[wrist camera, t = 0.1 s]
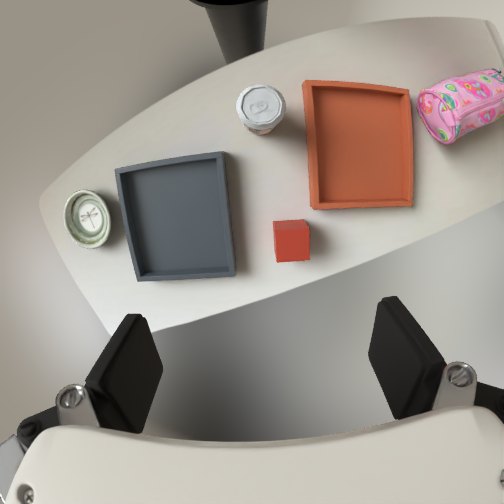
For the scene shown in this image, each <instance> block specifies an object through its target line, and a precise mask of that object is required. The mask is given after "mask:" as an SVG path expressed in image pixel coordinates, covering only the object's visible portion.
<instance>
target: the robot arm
mask: <svg viewBox="0 0 504 504" xmlns="http://www.w3.org/2000/svg"><path fill="white" fill-rule="evenodd" d="M368 356H369V360H370V362H371V365H372V367H373V369H374V372H375V374H376V376H377V378H378V381H379V383H380V385H381V387H382V390H383V392H384V395H385V397H386V399H387V402H388V404H389V407H390V409H391V412H392V414H393V417H394V418H395V419H398V420H397V421H393V422H389V423H386V424H381V425H377V426H373V427H368V428H364V429H359V430H355V431H349V432H344V433H338V434H332V435H326V436H318V437H310V438H302V439H292V440H279V441H263V442H212V441H193V440H181V439H171V438H162V437H154V436H148V435H141V434H139V433H142V431H143V428H144V425H145V422H146V419H147V416H148V413H149V410H150V407H151V404H152V401H153V398H154V396H155V393H156V390H157V387H158V384H159V381H160V378H161V376H162V373H163V365H162V362H161V359H160V357H159V354H158V352H157V349H156V346H155V343H154V340H153V338H152V335H151V332H150V329H149V326H148V323H147V320H146V318H144V317H142V315H141V314H127V315H126V316H125V318H124V319H123V321H122V322H121V324H120V325H119V327H118V328H117V330H116V331H115V333H114V334H113V336H112V337H111V339H110V341H109V342H108V344H107V345H106V347H105V349H104V350H103V352H102V353H101V355H100V357H99V358H98V360H97V361H96V363H95V365H94V366H93V368H92V370H91V371H90V373H89V375H88V376H87V378H86V380H85V381H86V384H85V386H84V387H83V386H82V385H79V384H72V385H68V386H66V387H64V388H63V389H62V390H60V392H59V393H58V394H57V397H56V406H55V407H52V408H50V409H47V410H45V411H43V412H40V413H38V414H35V415H33V416H31V417H28V418H26V419H24V420H23V421H22V422H21V423H20V425H19V427H18V430H17V436H15V435H14V434H13V435H12V436H11V437H9V438H8V439H7V440H5V441H4V442H3V443H2V444H0V498H1V500H2V502H3V504H504V389H500V388H497V387H493V386H490V385H487V384H483V383H480V382H477V375H476V372H475V370H474V369H473V368H472V367H471V366H470V365H468V364H466V363H464V362H452V363H449V364H448V365H447V364H446V362H445V361H444V358H443V357H442V355H441V354H440V352H439V351H438V350H437V348H436V347H435V345H434V344H433V343H432V341H431V340H430V339H429V337H428V336H427V335H426V333H425V332H424V330H423V329H422V328H421V326H420V325H419V324H418V323H417V321H416V320H415V319H414V317H413V316H412V315H411V313H410V312H409V311H408V310H407V308H406V307H405V306H404V305H403V304H402V302H401V301H400V300H399V298H398V297H397V296H391V297H385V298H383V299H382V301H381V302H379V303H378V306H377V311H376V317H375V322H374V328H373V333H372V338H371V343H370V347H369V352H368Z"/></svg>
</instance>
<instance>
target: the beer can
mask: <svg viewBox="0 0 504 504" xmlns="http://www.w3.org/2000/svg"><path fill="white" fill-rule="evenodd" d="M236 108H237V113H238V116H239V118H240V119H241V121H242V123H243V125H244V127H245V128H246V129H247V130H248V131H249V132H251V133H253V134H256V135H263V134H267V133H269V132H271V131H272V130H273V129H274V127H275V126H276V125H277V124H278V123H280V122H281V120H282V119H283V117H284V115H285V111H286V103H285V100H284V98H283V96H282V94H281V93H280V92H279V91H278V90H277V89H275V88H274V87H271V86H269V85H264V84H257V85H253V86H250V87H248V88H247V89H245V90H244V91H243V92H242V93H241V94H240V96H239V98H238V100H237V104H236Z"/></svg>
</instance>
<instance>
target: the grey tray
mask: <svg viewBox="0 0 504 504" xmlns="http://www.w3.org/2000/svg"><path fill="white" fill-rule="evenodd" d="M115 174H116V175H115V176H116V182H117V189H118V195H119V201H120V206H121V212H122V217H123V222H124V227H125V232H126V236H127V241H128V245H129V250H130V254H131V258H132V262H133V266H134V270H135V274H136V278H137V281H138V282H139V281H162V280H182V279H200V278H217V277H233V276H235V275H236V261H235V252H234V243H233V234H232V225H231V216H230V206H229V197H228V187H227V177H226V167H225V157H224V151H221V152H212V153H204V154H197V155H189V156H183V157H176V158H170V159H164V160H158V161H152V162H147V163H142V164H137V165H132V166H127V167H122V168H117V169H115Z"/></svg>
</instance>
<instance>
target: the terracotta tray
mask: <svg viewBox="0 0 504 504" xmlns="http://www.w3.org/2000/svg"><path fill="white" fill-rule="evenodd" d="M302 90H303V100H304V111H305V123H306V136H307V150H308V168H309V189H310V206H311V207H312V208H313V209H314V210H317V209H337V208H362V207H399V206H412V200H413V133H412V118H411V106H410V96H409V90H408V89H402V88H396V87H389V86H382V85H374V84H365V83H355V82H342V81H321V80H305V81H304V82H303V84H302Z"/></svg>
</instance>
